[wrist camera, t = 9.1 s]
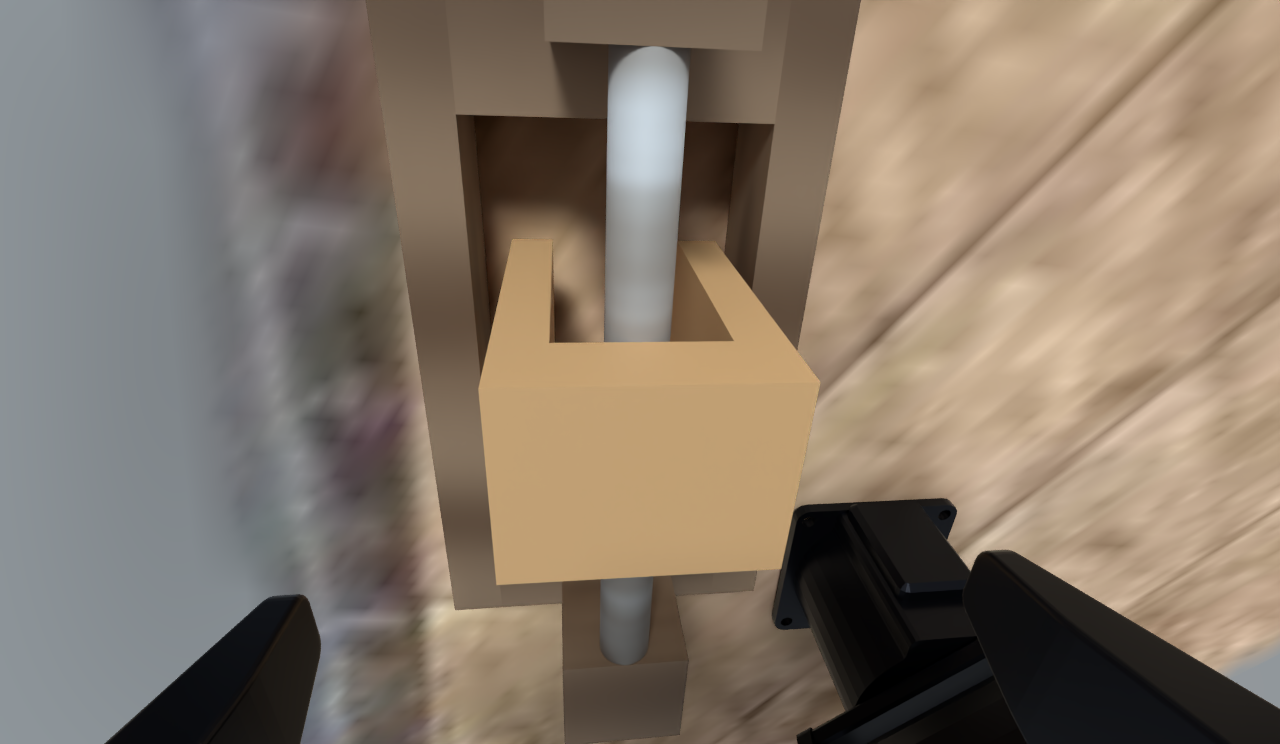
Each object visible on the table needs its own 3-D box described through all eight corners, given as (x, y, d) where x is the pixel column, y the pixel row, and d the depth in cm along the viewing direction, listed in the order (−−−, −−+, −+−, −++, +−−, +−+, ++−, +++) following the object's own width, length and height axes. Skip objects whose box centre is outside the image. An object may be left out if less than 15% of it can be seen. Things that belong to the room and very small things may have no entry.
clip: (700, 374, 18) (780, 569, 12) (519, 378, 17) (496, 585, 11) (714, 240, 16) (819, 382, 10) (512, 239, 16) (478, 389, 9)
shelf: (732, 529, 24) (803, 734, 17) (466, 543, 23) (426, 770, 16) (828, -121, 14) (1083, -266, 7) (379, -158, 13) (179, -373, 6)
